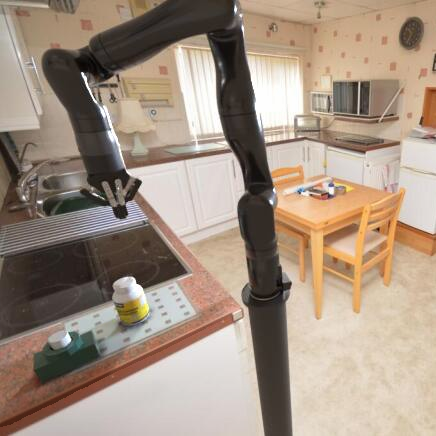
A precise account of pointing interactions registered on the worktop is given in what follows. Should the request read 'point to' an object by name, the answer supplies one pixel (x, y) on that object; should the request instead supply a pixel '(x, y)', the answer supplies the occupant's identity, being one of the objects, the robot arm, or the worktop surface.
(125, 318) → the pill bottle
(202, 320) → the worktop surface
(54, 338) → the white short cylinder
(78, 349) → the button base
